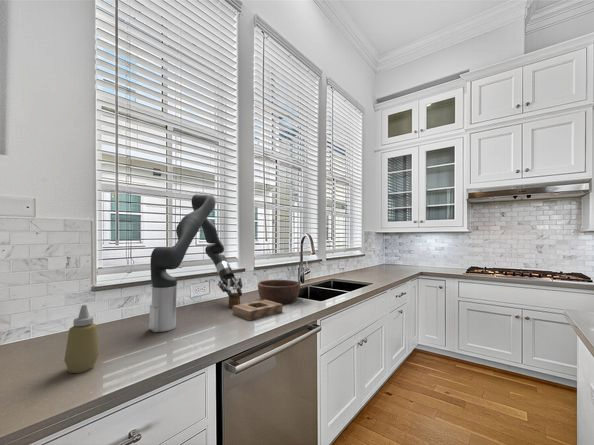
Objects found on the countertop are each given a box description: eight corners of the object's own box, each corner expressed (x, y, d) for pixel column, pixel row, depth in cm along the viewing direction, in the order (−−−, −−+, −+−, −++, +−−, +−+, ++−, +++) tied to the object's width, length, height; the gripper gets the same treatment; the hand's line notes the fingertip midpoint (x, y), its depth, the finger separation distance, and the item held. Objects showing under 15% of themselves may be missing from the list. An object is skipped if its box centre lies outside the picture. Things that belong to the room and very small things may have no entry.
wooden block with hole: (249, 320, 130) (249, 311, 130) (232, 314, 140) (232, 305, 140) (282, 312, 144) (282, 304, 144) (264, 307, 154) (265, 299, 154)
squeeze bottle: (104, 362, 87) (107, 302, 87) (86, 375, 79) (88, 309, 79) (77, 362, 86) (79, 302, 87) (55, 375, 78) (58, 309, 79)
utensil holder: (228, 308, 149) (229, 285, 150) (228, 305, 155) (228, 283, 156) (240, 308, 151) (240, 285, 151) (239, 305, 157) (239, 283, 158)
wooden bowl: (307, 299, 174) (307, 282, 174) (284, 308, 153) (284, 288, 153) (274, 294, 187) (274, 278, 188) (248, 301, 166) (248, 283, 167)
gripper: (215, 267, 154) (227, 294, 145) (238, 265, 164) (250, 290, 155) (210, 276, 158) (221, 302, 149) (233, 274, 168) (244, 298, 159)
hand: (236, 296), depth 152 cm, fingers closed on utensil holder, 5 cm apart
